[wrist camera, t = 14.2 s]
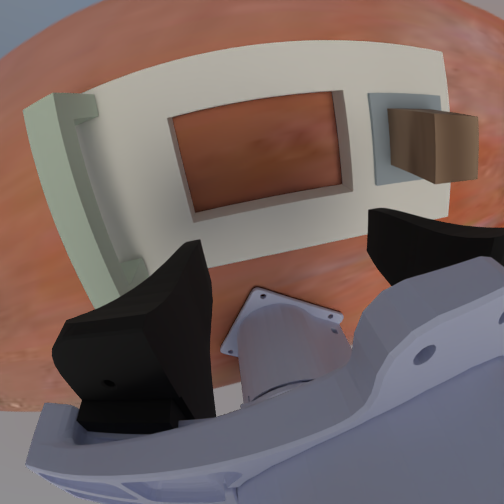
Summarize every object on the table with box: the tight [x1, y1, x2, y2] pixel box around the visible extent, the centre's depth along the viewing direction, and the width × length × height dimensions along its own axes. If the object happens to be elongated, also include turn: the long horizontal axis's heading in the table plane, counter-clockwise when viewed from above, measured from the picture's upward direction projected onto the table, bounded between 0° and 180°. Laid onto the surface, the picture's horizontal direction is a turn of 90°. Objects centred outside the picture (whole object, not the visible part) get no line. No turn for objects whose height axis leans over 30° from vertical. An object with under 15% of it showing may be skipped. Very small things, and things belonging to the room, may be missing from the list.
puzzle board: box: [75, 40, 450, 276], centre depth 18 cm, size 30×14×2 cm, turn 100°
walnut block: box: [387, 108, 479, 184], centre depth 15 cm, size 4×4×5 cm
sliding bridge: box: [23, 93, 149, 309], centre depth 14 cm, size 2×13×5 cm, turn 10°
